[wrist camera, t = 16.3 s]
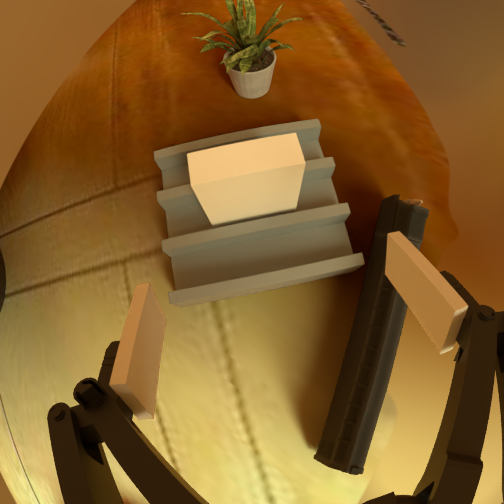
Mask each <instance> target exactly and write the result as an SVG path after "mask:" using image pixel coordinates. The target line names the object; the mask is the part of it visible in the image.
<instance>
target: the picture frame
mask: <svg viewBox="0 0 504 504" xmlns="http://www.w3.org/2000/svg"><path fill="white" fill-rule="evenodd" d="M187 158H188V167H189V175H190V182H191V187H192V189H193V191H194V192H195V194H196V196H197V198H198V200H199V202H200V204H201V206H202V207H203V209H204V211H205V213H206V215H207V217H208V219H209V221H210V222H211V224H212V226H213V228H219V227H224V226H229V225H233V224H238V223H243V222H248V221H253V220H258V219H263V218H268V217H273V216H278V215H283V214H288V213H294V212H295V211H296V207H297V202H298V197H299V193H300V188H301V183H302V179H303V174H304V169H305V164H306V163H305V160H304V156H303V153H302V150H301V147H300V144H299V141H298V138H297V135H296V133H291V134H284V135H278V136H272V137H266V138H260V139H255V140H249V141H244V142H239V143H234V144H229V145H224V146H219V147H215V148H210V149H206V150H201V151H197V152H192V153H188V154H187Z"/></svg>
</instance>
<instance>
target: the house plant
mask: <svg viewBox="0 0 504 504" xmlns="http://www.w3.org/2000/svg"><path fill="white" fill-rule="evenodd" d="M225 1H226V4H227V7H228V10H229V12H230V14H231V16H232V17H233V19H232V20H230V21H228V22H226V23H224V24H223V25H222V24H221V23H220V22H219V21H218V20H216V19H215V18H214V17H212V16H210V15H208V14H204V13H184V14H196V15H201V16H205V17H207V18H210V19H211V20H213V21H215V22H216V23H217V24H219V25H220V26H221V27H223V28H224V29H226V30H227V31H228V32H229V33H230V34H229V33H227V34H229V35H230V36H232V37H233V38H234V39H235V41H236V43H237V44H236V43H235V42H233V41H232V40H231V39H230V38H228V37H226V36H223V35H214V34H217V33H224V32H221V31H211V32H209V33H208V34H207V35H205V36H203V37H194V38H197V39H200V41H201V40H206V41H209V42H211V43H208V44H206V45H205V46H204V47H203V48H202V50H201V52H205V51H208V50H210V49H213V48H216V47H220V48H223V49H225V50H227V52H226V53H225V55H224V58H223V61H222V62H221V63H220V64H222V63H224V64H225V67H226V70H227V72H228V74H229V76H230V79H231V81H232V84H233V86H234V89H235V91H236V92H237V94H239V95H240V96H242V97H244V98H258V97H261V96H263V95H265V94H266V93H267V92H268V90H269V87H270V83H271V79H272V75H273V70H274V66H275V62H276V54H275V52H274V50H278V49H285V48H289V49H293V48H292V47H291V45H288V44H281V43H280V42H279V41H277V40H274V39H267V40H265V41H264V42H263V43H262V41H263V40H264V39H265V38H266V37H267V36H268V35H269V34H270V33H272V32H273V31H275V30H276V29H278V28H280V27H282V26H283V25H285V24H286V23H288V22H292V21H296V20H301V19H303V18H290V19H287V20H285V21H283V22H281V23H279V24H277V25H276V26H275V27H273V28H272V29H271V30H270V32H269V33H268V34H267V35H266V36H265V34H266V33H267V31H268V30H269V29H270V28H271V27H272V26H273V25H274V24H275V23H276V22H277V21H279V20H281V19H276V18H275V17H276V15H277V14H278V12H279V10H280V9H281V7H282V5H283V4H284V3H283V4H282V5H281V6H280V7H279V8H278V9H277V10H276V11H275V12H274V14H273V15H272V17H271V18H270V19H269V21H267V22H266V24H265V25H264V26H263V28H262V30H261V32H260V33H259V36H258V34H256V35H255V30H256V9H255V5H254V1H253V0H244V4H245V8H246V21H245V19H244V16H245V15H244V16H243V0H237V11H236V9H235V6H234V3H233V1H232V0H225ZM211 35H214V36H221V37H224V38H225V39H227V40H228V41H230V42H231V43H232V44H233V45H234V46H232V45H229V44H227V43H224V42H215V41H213V40H211V39H210V38H212V37H214V36H212V37H210V38H207V37H209V36H211ZM264 36H265V37H264ZM274 42H277V43H279V44H280V45H279V46H276V47H274V48H273V49H272V48H270V47H269V45H270V44H272V43H274ZM225 46H229V47H231V48H230V49H229V48H227V47H225ZM293 50H294V49H293ZM201 52H200V53H201ZM199 55H200V54H199ZM227 72H226V74H227Z"/></svg>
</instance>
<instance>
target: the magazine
mask: <svg viewBox="0 0 504 504" xmlns="http://www.w3.org/2000/svg"><path fill="white" fill-rule="evenodd" d="M399 196H400V195H392V196H390V197H387V198H385V199H383V200H382V203H381V207H380V211H379V216H378V221H377V225H376V229H375V236H374V240H373V245H372V249H371V253H370V258H369V262H368V267H367V271H366V275H365V279H364V283H363V287H362V291H361V295H360V299H359V303H358V307H357V311H356V315H355V319H354V323H353V327H352V331H351V335H350V338H349V342H348V346H347V350H346V354H345V357H344V361H343V365H342V369H341V372H340V376H339V379H338V383H337V387H336V390H335V394H334V397H333V401H332V404H331V408H330V411H329V414H328V418H327V421H326V424H325V428H324V431H323V434H322V437H321V440H320V443H319V446H318V449H317V452H316V454H315V455H314V459H315V460H317V461H319V462H321V463H322V464H324V465H326V466H328V467H330V468H333V469H337V470H340V471H342V472H346V473H349V474H353V475H358V474H363V470H364V469H363V467H364V464H365V460H366V457H367V454H368V450H369V447H370V443H371V440H372V437H373V433H374V430H375V427H376V423H377V420H378V417H379V413H380V410H381V407H382V403H383V400H384V397H385V394H386V390H387V387H388V383H389V379H390V375H391V372H392V368H393V363H394V359H395V356H396V351H397V348H398V344H399V340H400V336H401V332H402V328H403V323H404V319H405V316H406V311H407V306H408V305H407V304H406V303H405V301H404V300H403V298H402V297H401V295H400V294H399V293H398V291H397V290H396V288H395V287H394V286H393V284H392V283H391V282H390V280H389V279H388V277H387V276H386V275H385V267H386V253H387V236H388V233H392V232H397V231H400V232H401V233H402V234H403V235H404V236H405V237H406V238H407V239H408V240H409V241H410V242H411V243H412V244H413V245H414V246H415V247H416V248H417V249H418V250H419V251H420V246H421V243H422V241H423V233H424V227H425V222H426V218H427V217H428V215H429V210H428V209H426V208H423V207H420V205H421V204H422V203H423V201H422V200H419V199H408V200H404V201H401V200H399Z"/></svg>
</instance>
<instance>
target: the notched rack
mask: <svg viewBox="0 0 504 504" xmlns="http://www.w3.org/2000/svg"><path fill="white" fill-rule="evenodd" d="M320 130H321V125H320V122H319V119H313V120H306V121H298V122H291V123H285V124H278V125H272V126H266V127H260V128H254V129H249V130H244V131H238V132H233V133H228V134H224V135H219V136H214V137H210V138H205V139H201V140H196V141H192V142H188V143H184V144H180V145H176V146H172V147H168V148H164V149H161V150H157V151H154V160H155V162H156V163H157V165H158V166H159V168H160V169H161V171H162V180H163V190H162V191H158V192H157V202H158V203H159V204H160V205H161V206H162V208H163V209H164V210H165V212H166V221H167V230H168V239H164V240H161V242H162V251H163V252H165V253H166V254H167V255H168V256H170V257H171V262H172V269H173V276H174V283H175V290H176V291H172V292H168V295H169V302H170V304H172V305H176V306H180V307H184V306H190V305H195V304H201V303H206V302H212V301H217V300H222V299H228V298H233V297H238V296H243V295H248V294H253V293H258V292H263V291H268V290H273V289H277V288H282V287H287V286H292V285H296V284H301V283H306V282H310V281H315V280H319V279H324V278H328V277H333V276H337V275H341V274H346V273H350V272H354V271H355V270H357V269H358V268H360V267H361V266H363V265H364V264H365V262H364V258H363V254H362V253H357V254H353V251H352V247H351V244H350V240H349V236H348V233H347V229H346V226H345V221H346V219H347V218H348V216H349V215H350V213H351V212H350V209H349V206H348V203H342V204H339V202H338V199H337V195H336V192H335V189H334V186H333V183H332V180H331V176H332V174H333V171H334V169H335V163H334V160H333V157H328V158H324V156H323V153H322V150H321V147H320V144H319V141H318V138H319V134H320ZM291 133H296V135H297V138H298V141H299V144H300V147H301V150H302V153H303V156H304V160H305V163H306V164H305V169H304V174H303V179H302V183H301V188H300V193H299V197H298V202H297V207H296V211H295V212H294V213H288V214H283V215H278V216H273V217H268V218H263V219H258V220H253V221H248V222H243V223H238V224H233V225H229V226H224V227H219V228H213V226H212V224H211V222H210V221H209V219H208V217H207V215H206V213H205V211H204V209H203V207H202V206H201V204H200V202H199V200H198V198H197V196H196V194H195V192H194V191H193V189H192V187H191V182H190V175H189V167H188V158H187V154H188V153H192V152H197V151H201V150H206V149H210V148H215V147H219V146H224V145H229V144H234V143H239V142H244V141H249V140H255V139H260V138H266V137H272V136H278V135H284V134H291Z"/></svg>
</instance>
